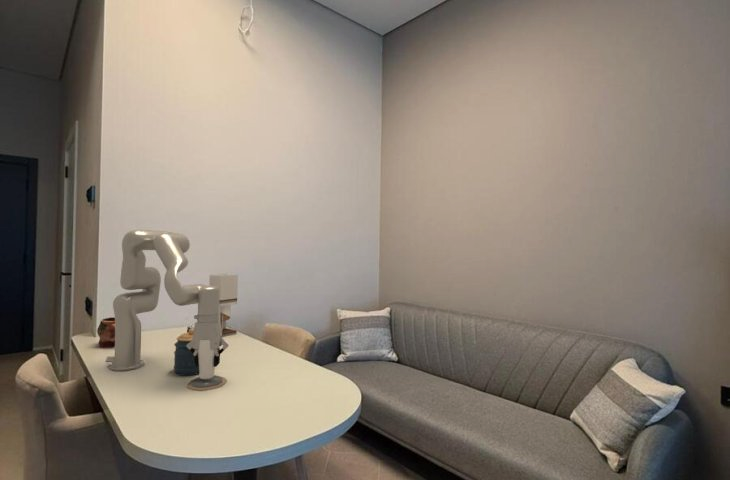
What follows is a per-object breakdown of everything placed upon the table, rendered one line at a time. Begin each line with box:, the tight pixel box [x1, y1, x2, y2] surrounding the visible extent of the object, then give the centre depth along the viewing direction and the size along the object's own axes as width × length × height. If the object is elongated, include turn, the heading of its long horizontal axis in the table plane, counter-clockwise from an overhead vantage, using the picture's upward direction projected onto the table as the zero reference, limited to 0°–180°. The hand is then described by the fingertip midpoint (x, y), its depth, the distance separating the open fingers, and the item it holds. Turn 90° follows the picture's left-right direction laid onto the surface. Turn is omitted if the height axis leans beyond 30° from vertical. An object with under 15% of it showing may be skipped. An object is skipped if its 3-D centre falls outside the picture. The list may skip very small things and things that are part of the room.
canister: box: [173, 329, 199, 377], centre depth 158 cm, size 13×13×18 cm
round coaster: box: [186, 374, 228, 391], centre depth 144 cm, size 14×14×1 cm
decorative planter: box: [96, 316, 115, 349], centre depth 193 cm, size 20×12×14 cm, turn 50°
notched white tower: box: [208, 273, 239, 338], centre depth 222 cm, size 11×11×35 cm
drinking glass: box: [198, 340, 216, 379], centre depth 144 cm, size 7×7×15 cm
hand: (207, 365), depth 144 cm, fingers closed on drinking glass, 6 cm apart
